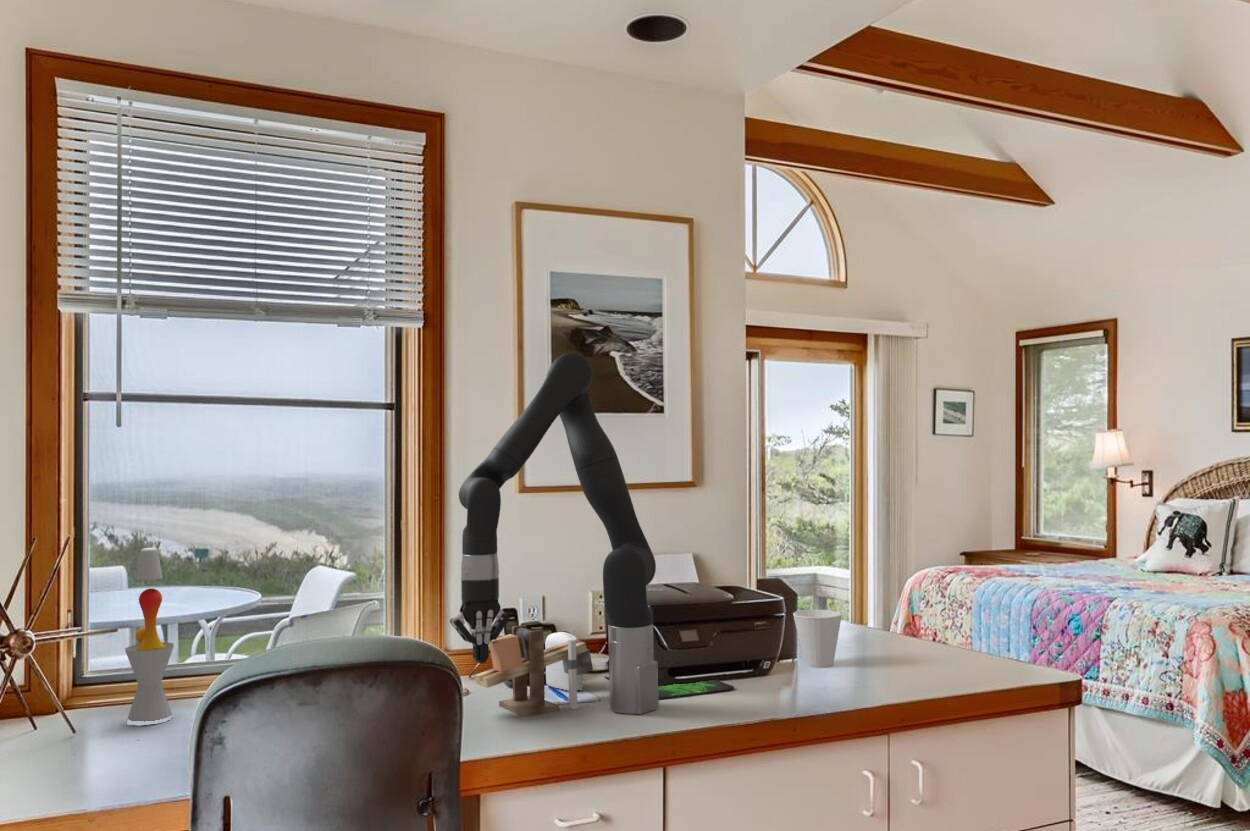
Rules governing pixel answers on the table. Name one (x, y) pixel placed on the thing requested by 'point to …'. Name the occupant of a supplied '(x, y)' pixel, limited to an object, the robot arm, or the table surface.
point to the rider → (505, 653)
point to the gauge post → (572, 673)
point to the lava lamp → (149, 648)
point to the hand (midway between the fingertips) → (480, 662)
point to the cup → (818, 636)
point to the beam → (550, 657)
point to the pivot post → (536, 673)
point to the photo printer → (559, 664)
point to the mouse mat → (691, 689)
